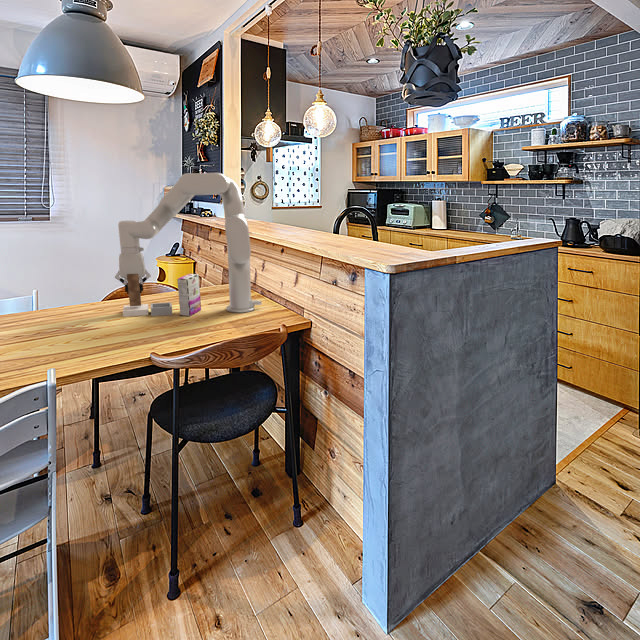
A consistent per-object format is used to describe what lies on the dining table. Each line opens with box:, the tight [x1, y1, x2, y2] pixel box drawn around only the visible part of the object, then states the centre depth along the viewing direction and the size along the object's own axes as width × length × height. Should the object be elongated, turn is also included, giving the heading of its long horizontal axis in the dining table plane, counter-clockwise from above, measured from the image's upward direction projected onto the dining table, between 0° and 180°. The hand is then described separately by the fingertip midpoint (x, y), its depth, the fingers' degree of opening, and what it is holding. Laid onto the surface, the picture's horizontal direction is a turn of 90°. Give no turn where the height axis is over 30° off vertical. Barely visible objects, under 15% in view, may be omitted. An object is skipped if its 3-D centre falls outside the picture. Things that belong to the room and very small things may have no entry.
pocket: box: [150, 301, 173, 317], centre depth 203 cm, size 9×9×4 cm
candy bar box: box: [176, 273, 202, 317], centre depth 203 cm, size 11×5×16 cm, turn 168°
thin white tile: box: [122, 303, 149, 318], centre depth 203 cm, size 10×10×2 cm
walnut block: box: [127, 274, 142, 306], centre depth 200 cm, size 4×4×14 cm
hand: (134, 292), depth 201 cm, fingers closed on walnut block, 4 cm apart
